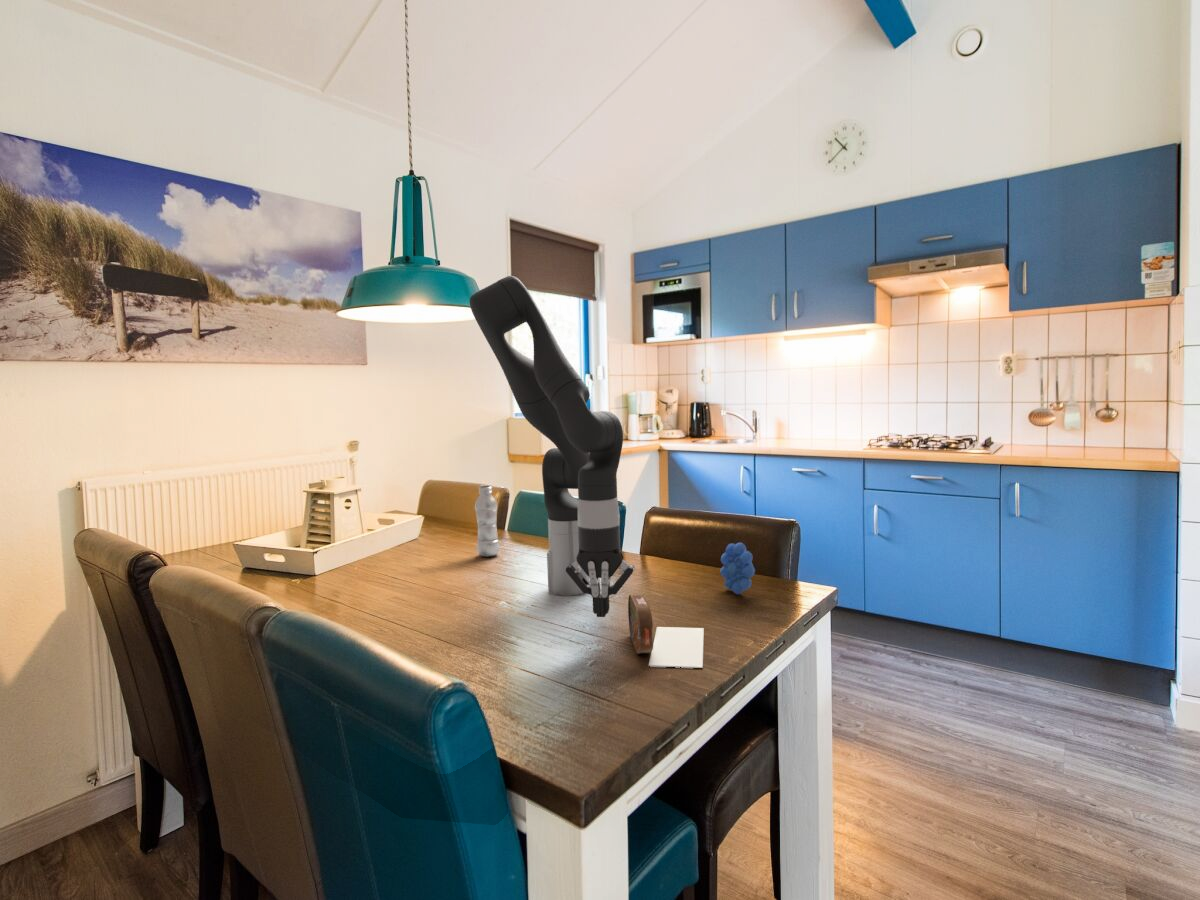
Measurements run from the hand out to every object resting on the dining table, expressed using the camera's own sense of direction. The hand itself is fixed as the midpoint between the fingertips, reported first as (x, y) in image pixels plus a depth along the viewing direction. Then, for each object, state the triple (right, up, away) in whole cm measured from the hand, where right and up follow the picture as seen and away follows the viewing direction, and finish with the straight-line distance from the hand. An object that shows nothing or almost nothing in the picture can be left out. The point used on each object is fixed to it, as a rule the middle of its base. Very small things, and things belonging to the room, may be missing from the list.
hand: (601, 615), depth 124 cm
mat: (+14, -5, -2) cm, 15 cm away
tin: (+7, -5, -1) cm, 9 cm away
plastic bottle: (-32, 0, +69) cm, 76 cm away
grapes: (+31, -2, +28) cm, 42 cm away
